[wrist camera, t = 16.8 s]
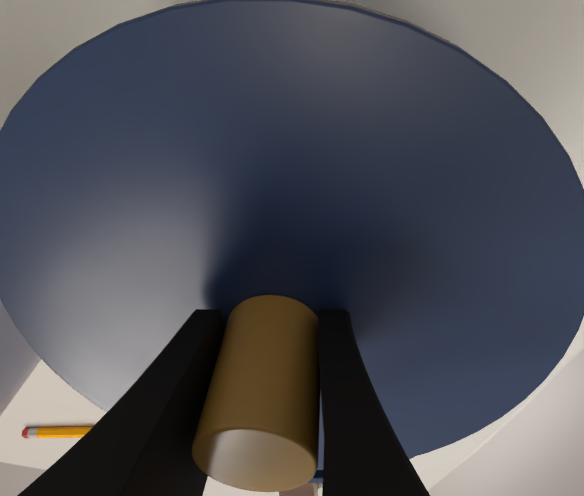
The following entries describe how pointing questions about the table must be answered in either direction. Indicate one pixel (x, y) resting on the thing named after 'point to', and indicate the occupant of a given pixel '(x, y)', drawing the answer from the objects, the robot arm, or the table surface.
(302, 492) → the stick
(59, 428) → the pencil
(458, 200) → the tin lid
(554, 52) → the table surface
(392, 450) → the robot arm
